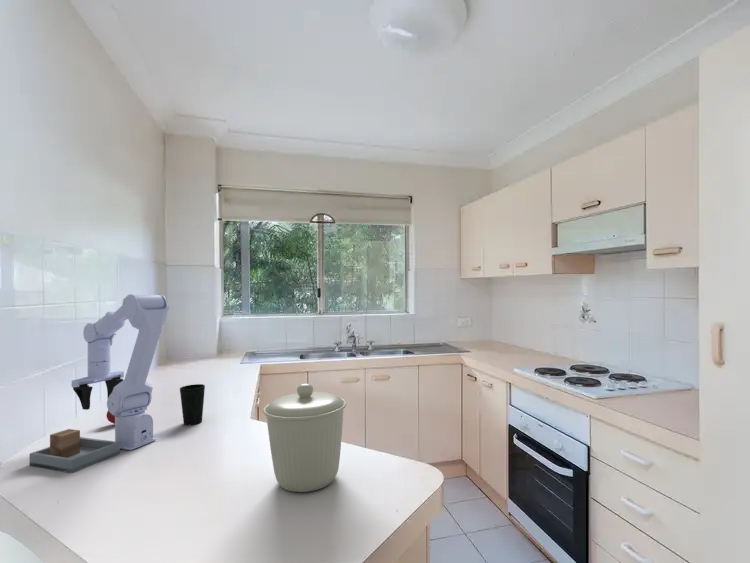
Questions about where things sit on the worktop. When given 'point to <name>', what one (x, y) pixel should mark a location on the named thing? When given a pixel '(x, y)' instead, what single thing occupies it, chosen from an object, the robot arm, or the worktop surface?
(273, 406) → the canister
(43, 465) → the tray
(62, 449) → the block
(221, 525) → the worktop surface
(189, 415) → the cup
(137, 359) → the robot arm
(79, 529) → the worktop surface
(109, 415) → the pomegranate
